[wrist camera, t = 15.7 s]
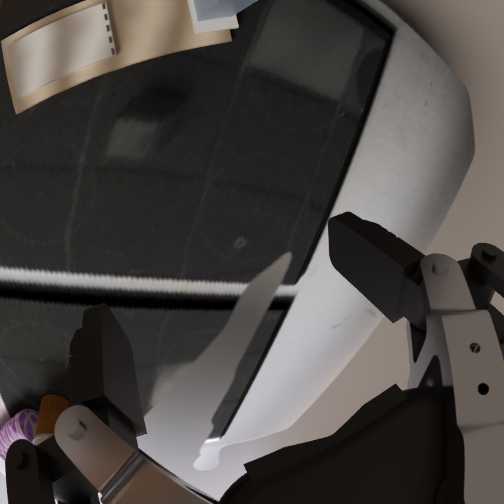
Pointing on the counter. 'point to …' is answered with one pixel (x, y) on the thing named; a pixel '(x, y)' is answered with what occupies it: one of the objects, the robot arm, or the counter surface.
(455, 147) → the counter surface
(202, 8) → the panel
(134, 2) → the perforated strip board
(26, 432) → the pencil case
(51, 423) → the disposable coffee cup
